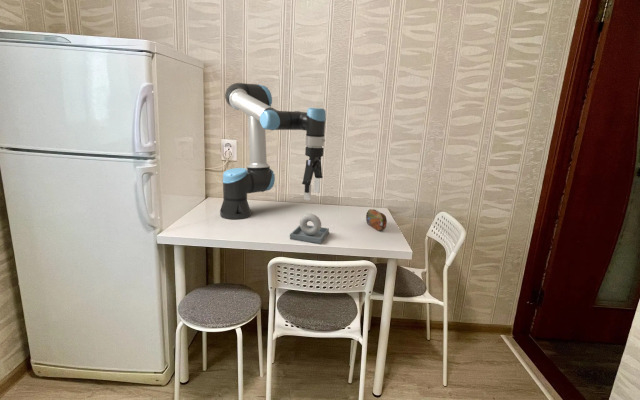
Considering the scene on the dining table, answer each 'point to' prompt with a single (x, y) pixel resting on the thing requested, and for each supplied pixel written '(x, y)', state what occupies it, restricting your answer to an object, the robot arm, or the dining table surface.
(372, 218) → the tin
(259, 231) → the dining table surface
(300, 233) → the tray
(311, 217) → the donut
